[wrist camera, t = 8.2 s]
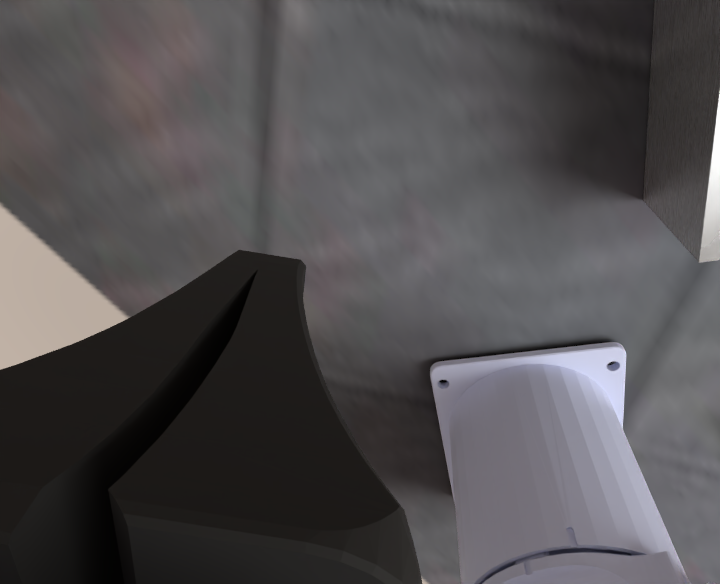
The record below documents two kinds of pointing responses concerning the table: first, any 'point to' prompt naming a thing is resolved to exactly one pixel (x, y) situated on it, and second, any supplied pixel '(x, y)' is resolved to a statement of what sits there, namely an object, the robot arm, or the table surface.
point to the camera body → (685, 124)
